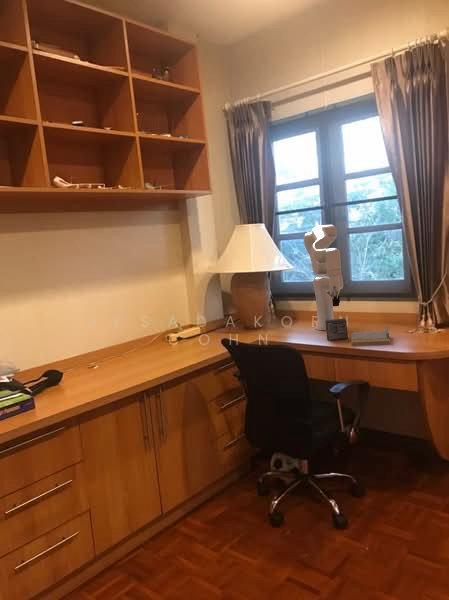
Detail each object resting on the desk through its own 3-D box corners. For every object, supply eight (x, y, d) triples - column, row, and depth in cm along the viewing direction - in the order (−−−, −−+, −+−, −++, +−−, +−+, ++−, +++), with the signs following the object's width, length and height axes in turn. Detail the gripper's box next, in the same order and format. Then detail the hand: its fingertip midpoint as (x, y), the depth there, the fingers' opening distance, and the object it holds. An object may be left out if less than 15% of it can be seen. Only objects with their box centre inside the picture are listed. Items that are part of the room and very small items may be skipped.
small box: (346, 336, 261) (344, 317, 260) (348, 339, 255) (346, 320, 253) (326, 338, 262) (325, 319, 261) (328, 341, 256) (326, 321, 254)
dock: (352, 338, 256) (351, 328, 255) (388, 336, 251) (387, 326, 250) (351, 345, 241) (351, 335, 240) (389, 344, 235) (389, 333, 235)
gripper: (327, 271, 263) (330, 302, 265) (325, 275, 246) (328, 307, 248) (342, 270, 260) (344, 301, 263) (340, 273, 244) (343, 307, 246)
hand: (336, 304), depth 256 cm, fingers open, 9 cm apart
